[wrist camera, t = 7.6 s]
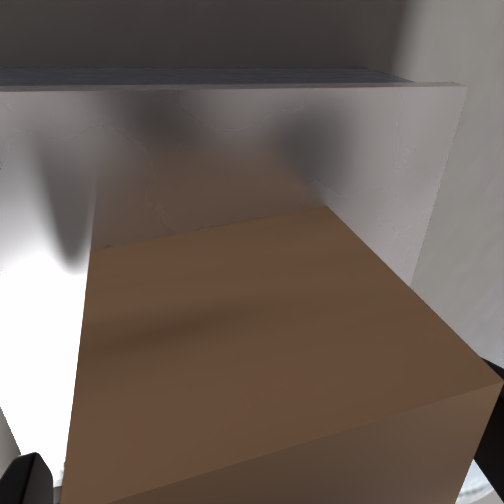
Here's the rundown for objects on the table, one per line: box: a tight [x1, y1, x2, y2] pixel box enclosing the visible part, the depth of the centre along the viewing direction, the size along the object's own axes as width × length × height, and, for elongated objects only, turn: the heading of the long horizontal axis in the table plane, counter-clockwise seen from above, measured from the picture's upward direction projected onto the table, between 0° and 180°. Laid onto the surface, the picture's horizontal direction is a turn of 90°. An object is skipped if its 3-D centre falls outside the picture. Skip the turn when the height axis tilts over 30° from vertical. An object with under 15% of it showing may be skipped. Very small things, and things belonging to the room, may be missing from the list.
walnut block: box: [60, 206, 504, 504], centre depth 9 cm, size 6×6×6 cm
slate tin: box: [0, 68, 469, 487], centre depth 14 cm, size 12×12×5 cm
